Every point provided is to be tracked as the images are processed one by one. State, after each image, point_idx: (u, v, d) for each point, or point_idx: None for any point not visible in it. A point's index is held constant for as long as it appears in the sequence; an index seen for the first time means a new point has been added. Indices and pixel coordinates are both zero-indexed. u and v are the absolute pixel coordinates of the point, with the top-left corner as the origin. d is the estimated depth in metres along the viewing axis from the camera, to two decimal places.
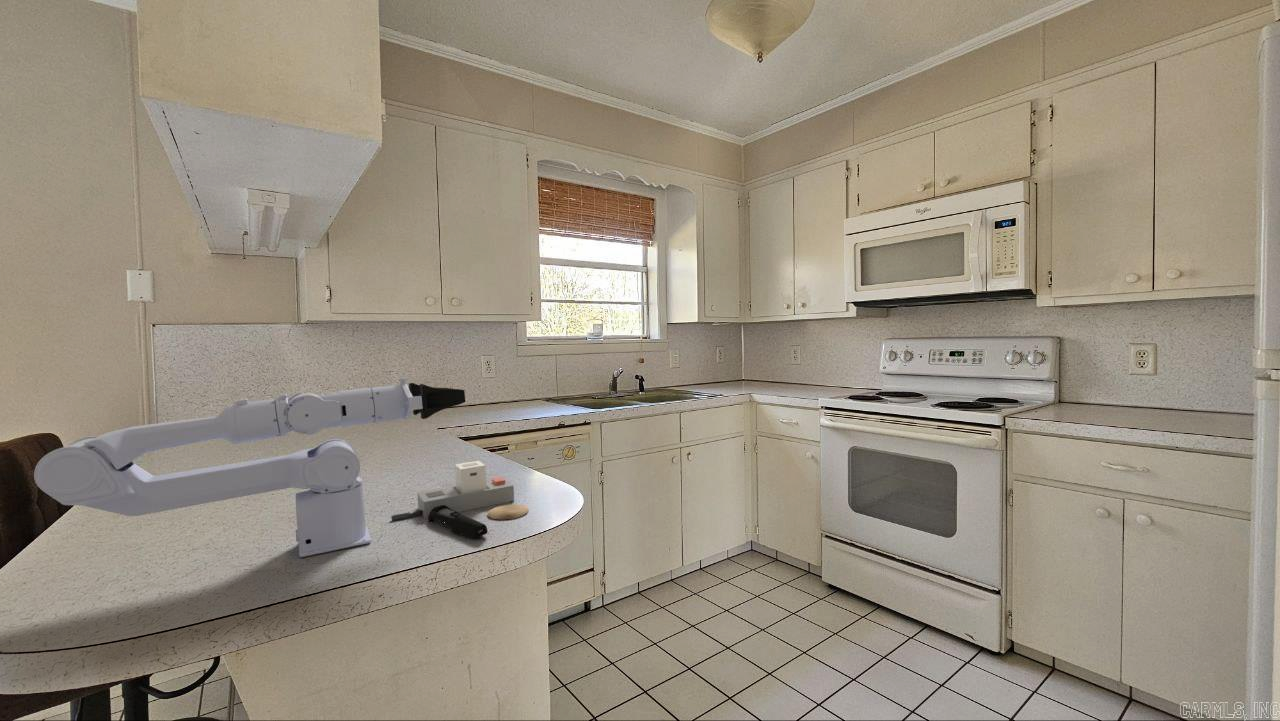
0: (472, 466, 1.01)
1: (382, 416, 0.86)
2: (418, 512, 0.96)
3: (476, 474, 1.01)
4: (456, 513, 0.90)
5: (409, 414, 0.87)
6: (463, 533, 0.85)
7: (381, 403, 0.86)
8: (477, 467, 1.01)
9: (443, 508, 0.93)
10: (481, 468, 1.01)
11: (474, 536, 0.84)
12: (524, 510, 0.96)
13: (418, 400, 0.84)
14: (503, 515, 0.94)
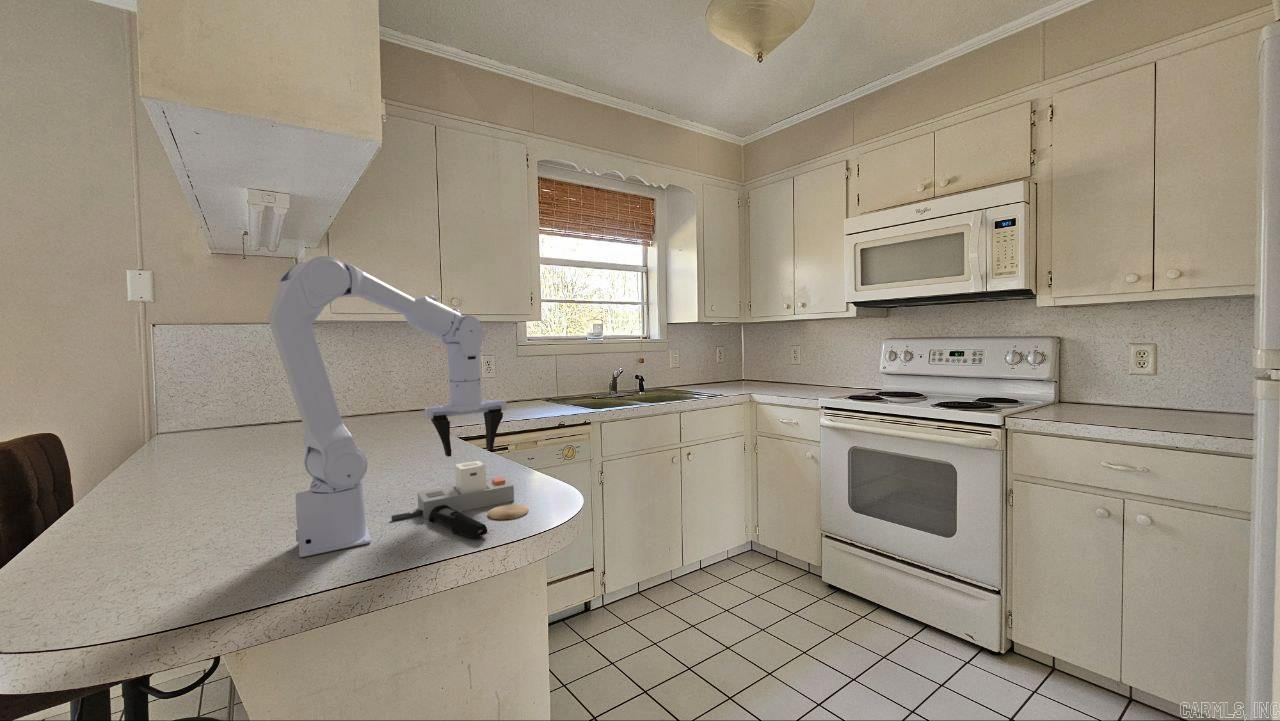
0: (472, 466, 1.01)
1: (479, 385, 1.01)
2: (418, 512, 0.96)
3: (476, 474, 1.01)
4: (456, 513, 0.90)
5: (489, 405, 1.02)
6: (463, 533, 0.85)
7: None
8: (477, 467, 1.01)
9: (444, 508, 0.93)
10: (481, 468, 1.01)
11: (474, 536, 0.84)
12: (524, 510, 0.96)
13: None
14: (503, 515, 0.94)
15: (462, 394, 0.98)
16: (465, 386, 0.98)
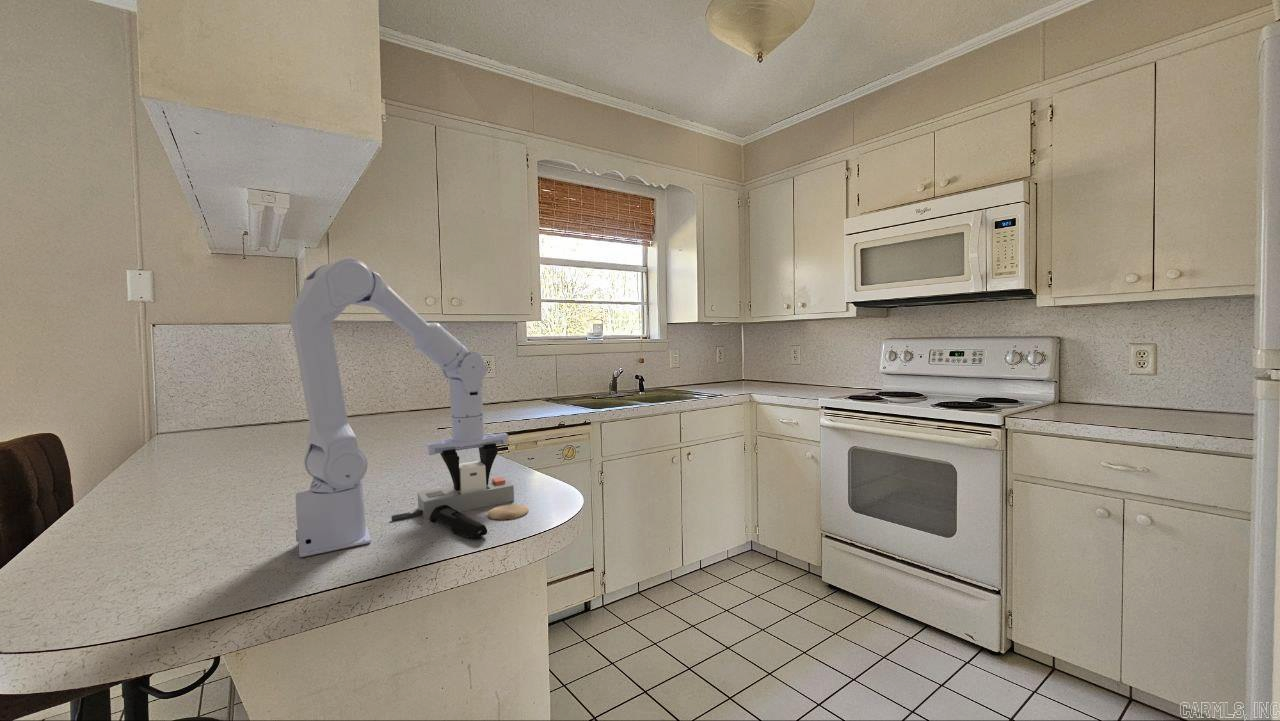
0: (472, 466, 1.01)
1: (481, 420, 1.01)
2: (418, 512, 0.96)
3: (476, 474, 1.01)
4: (457, 513, 0.90)
5: (490, 439, 1.02)
6: (463, 534, 0.85)
7: None
8: (477, 467, 1.01)
9: (445, 508, 0.93)
10: (481, 468, 1.01)
11: (473, 537, 0.84)
12: (524, 510, 0.96)
13: None
14: (503, 515, 0.94)
15: (464, 430, 0.99)
16: (467, 422, 0.99)
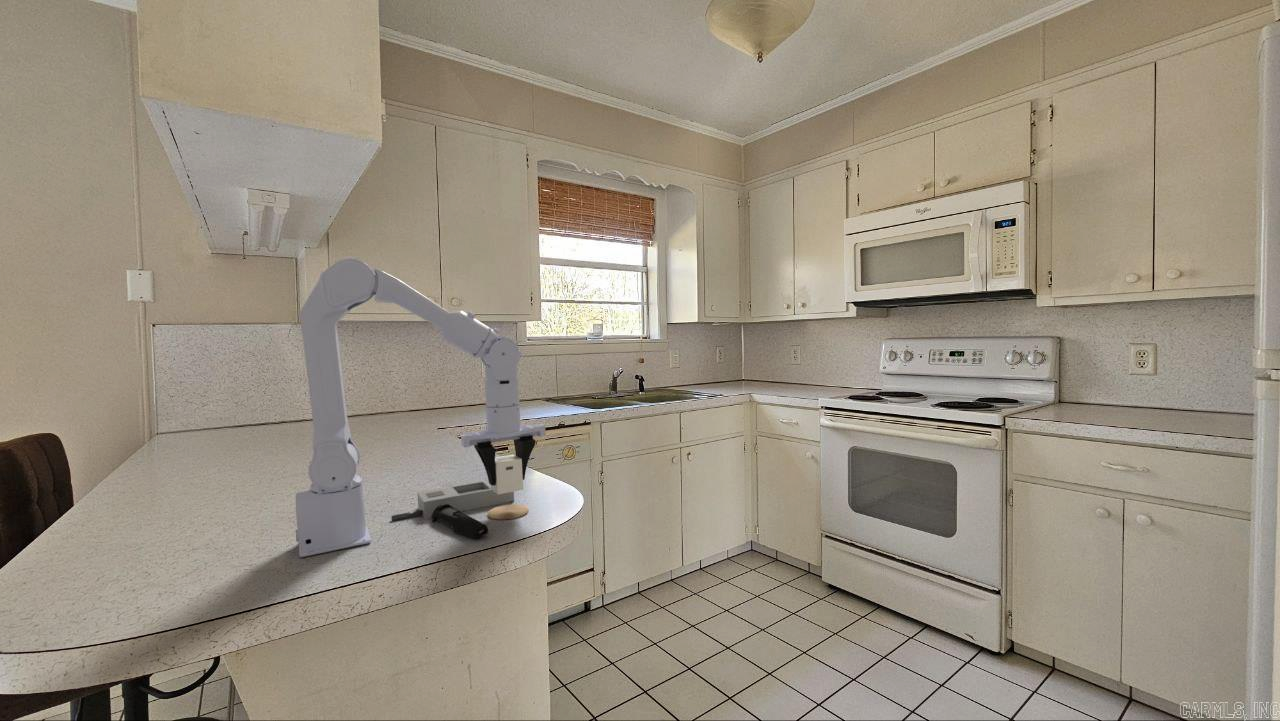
0: (508, 460, 0.95)
1: (518, 410, 0.95)
2: (418, 512, 0.96)
3: (512, 468, 0.95)
4: (458, 512, 0.90)
5: (527, 431, 0.96)
6: (464, 533, 0.85)
7: None
8: (513, 461, 0.95)
9: (446, 507, 0.93)
10: (517, 462, 0.95)
11: (475, 536, 0.84)
12: (524, 510, 0.96)
13: None
14: (503, 515, 0.94)
15: (501, 421, 0.93)
16: (504, 412, 0.93)
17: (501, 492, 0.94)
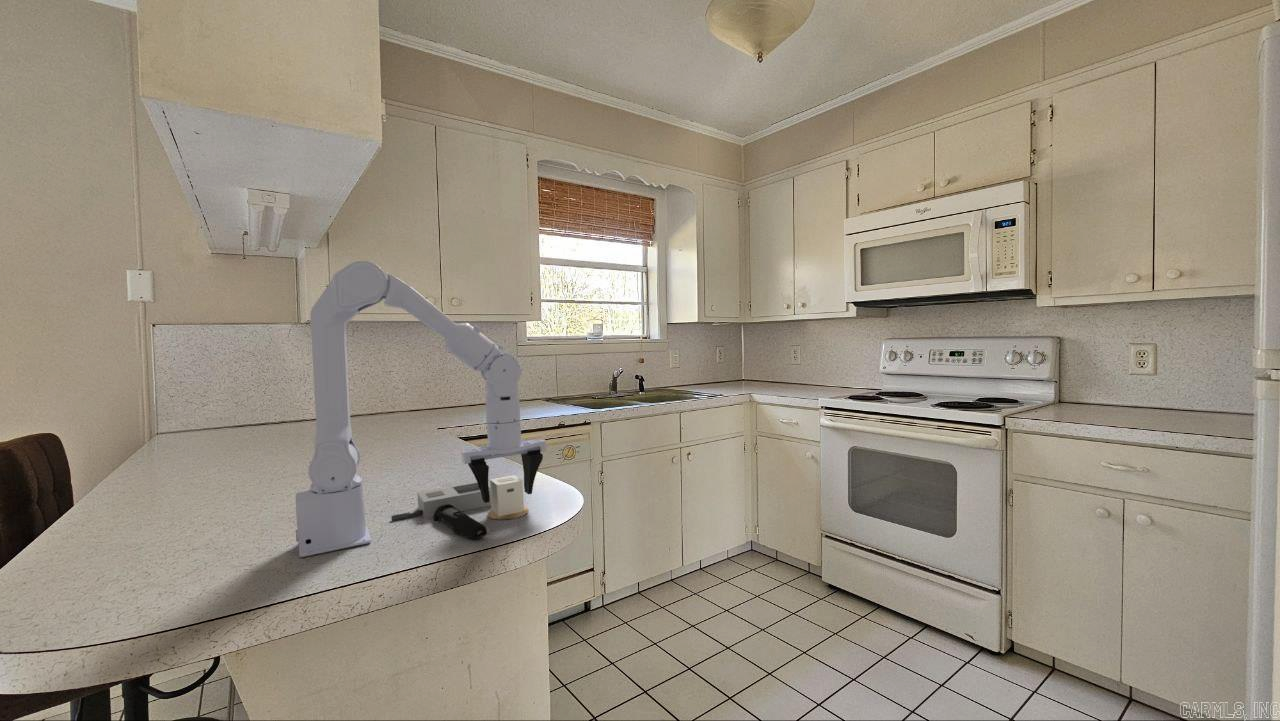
0: (509, 481, 0.95)
1: (519, 426, 0.95)
2: (418, 512, 0.96)
3: (513, 490, 0.95)
4: (459, 513, 0.90)
5: (528, 446, 0.96)
6: (463, 534, 0.85)
7: None
8: (514, 483, 0.95)
9: (448, 507, 0.93)
10: (518, 484, 0.95)
11: (473, 537, 0.84)
12: (524, 510, 0.96)
13: None
14: None
15: (502, 437, 0.93)
16: (504, 428, 0.93)
17: (502, 514, 0.94)
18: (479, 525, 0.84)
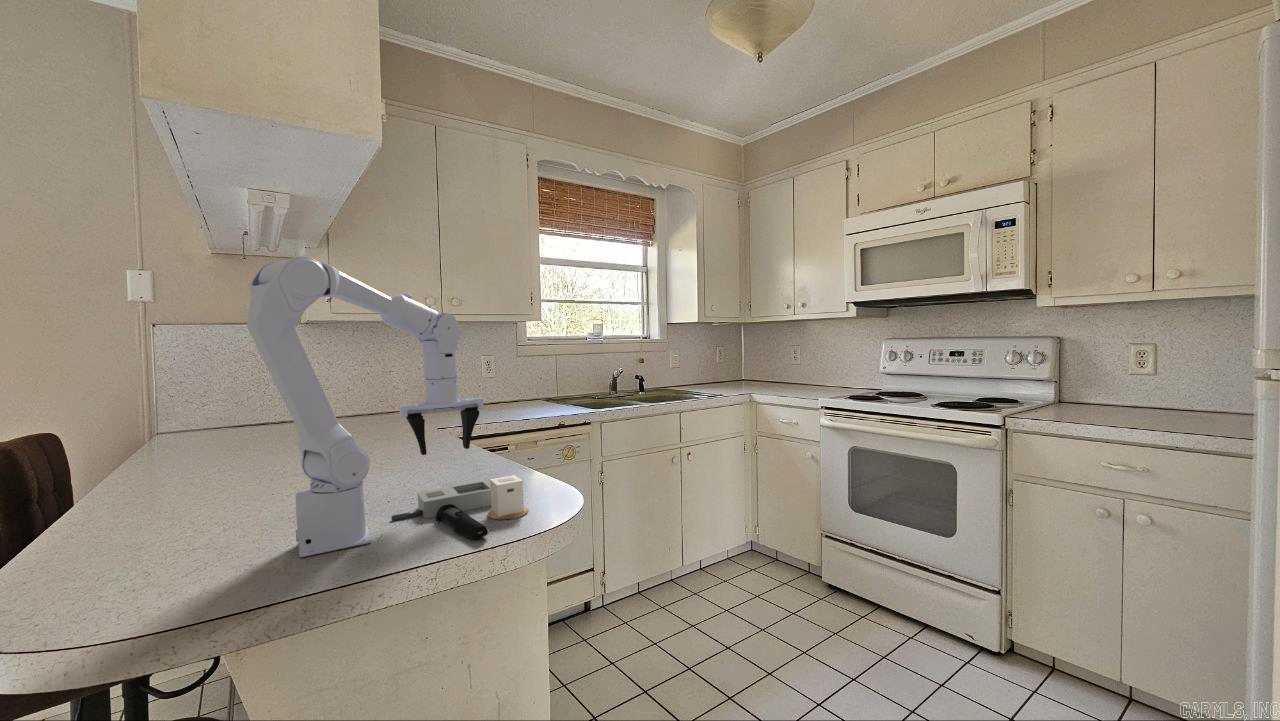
0: (509, 481, 0.95)
1: (455, 383, 1.00)
2: (418, 512, 0.96)
3: (513, 490, 0.95)
4: (461, 513, 0.90)
5: (465, 403, 1.01)
6: (464, 534, 0.85)
7: None
8: (514, 483, 0.95)
9: (450, 507, 0.93)
10: (518, 484, 0.95)
11: (474, 537, 0.83)
12: (524, 510, 0.96)
13: None
14: None
15: (438, 392, 0.98)
16: (440, 384, 0.98)
17: (502, 514, 0.94)
18: (479, 525, 0.84)
